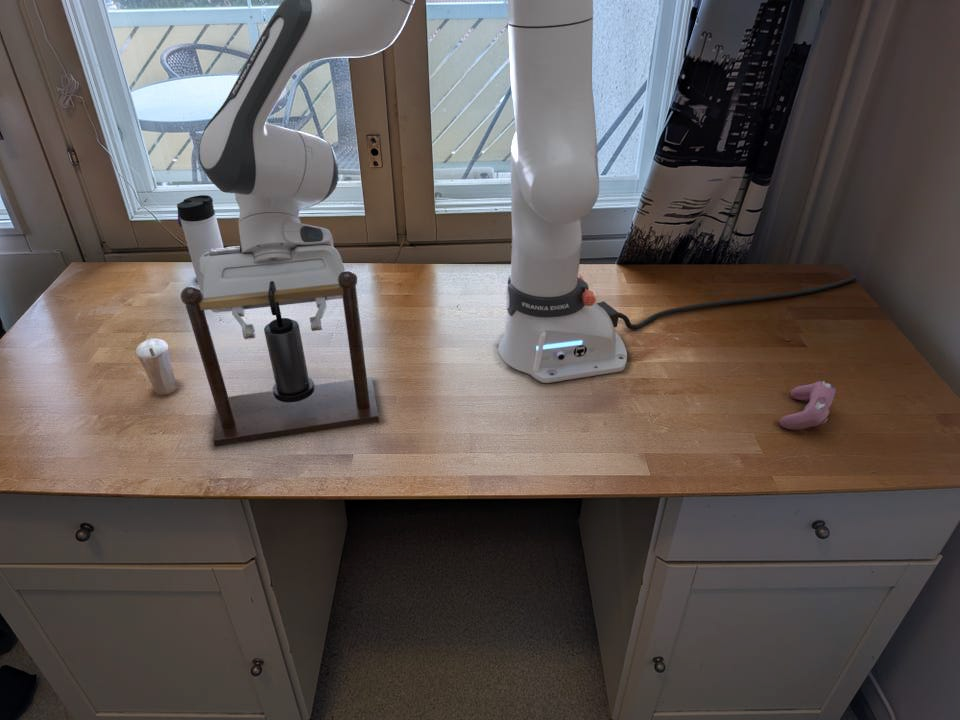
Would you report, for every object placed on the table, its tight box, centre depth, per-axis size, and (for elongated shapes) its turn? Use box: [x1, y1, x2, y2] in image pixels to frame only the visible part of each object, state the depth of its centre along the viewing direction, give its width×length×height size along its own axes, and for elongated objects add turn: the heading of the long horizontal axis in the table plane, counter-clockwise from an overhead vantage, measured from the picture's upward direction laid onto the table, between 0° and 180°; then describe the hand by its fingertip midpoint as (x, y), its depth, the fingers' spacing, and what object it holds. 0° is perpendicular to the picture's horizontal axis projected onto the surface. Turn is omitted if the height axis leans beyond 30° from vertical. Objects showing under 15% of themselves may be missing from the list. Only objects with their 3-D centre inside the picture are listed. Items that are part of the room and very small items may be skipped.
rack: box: [180, 269, 380, 447], centre depth 94 cm, size 10×24×25 cm, turn 104°
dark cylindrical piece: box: [263, 281, 315, 402], centre depth 92 cm, size 8×6×18 cm
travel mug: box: [176, 194, 225, 298], centre depth 125 cm, size 6×7×20 cm
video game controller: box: [779, 380, 837, 431], centre depth 100 cm, size 10×5×7 cm, turn 148°
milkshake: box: [135, 337, 178, 396], centre depth 102 cm, size 4×5×10 cm
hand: (283, 334), depth 94 cm, fingers open, 8 cm apart
